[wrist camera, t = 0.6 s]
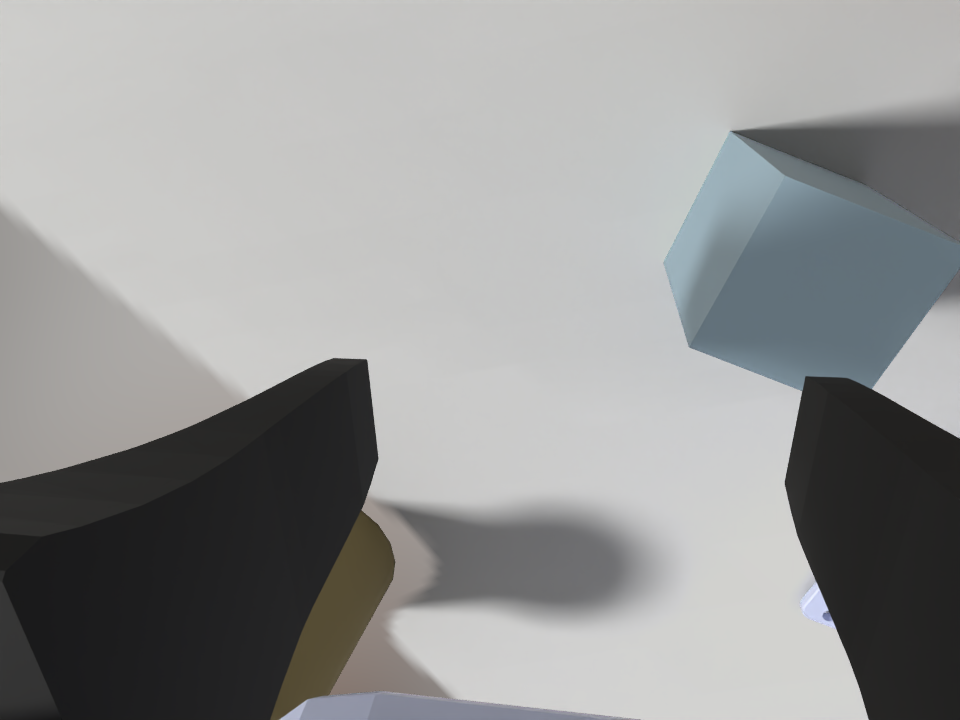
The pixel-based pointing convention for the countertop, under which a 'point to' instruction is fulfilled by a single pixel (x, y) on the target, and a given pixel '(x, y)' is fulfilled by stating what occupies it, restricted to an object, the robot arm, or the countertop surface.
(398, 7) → the countertop surface
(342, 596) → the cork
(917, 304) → the peg
